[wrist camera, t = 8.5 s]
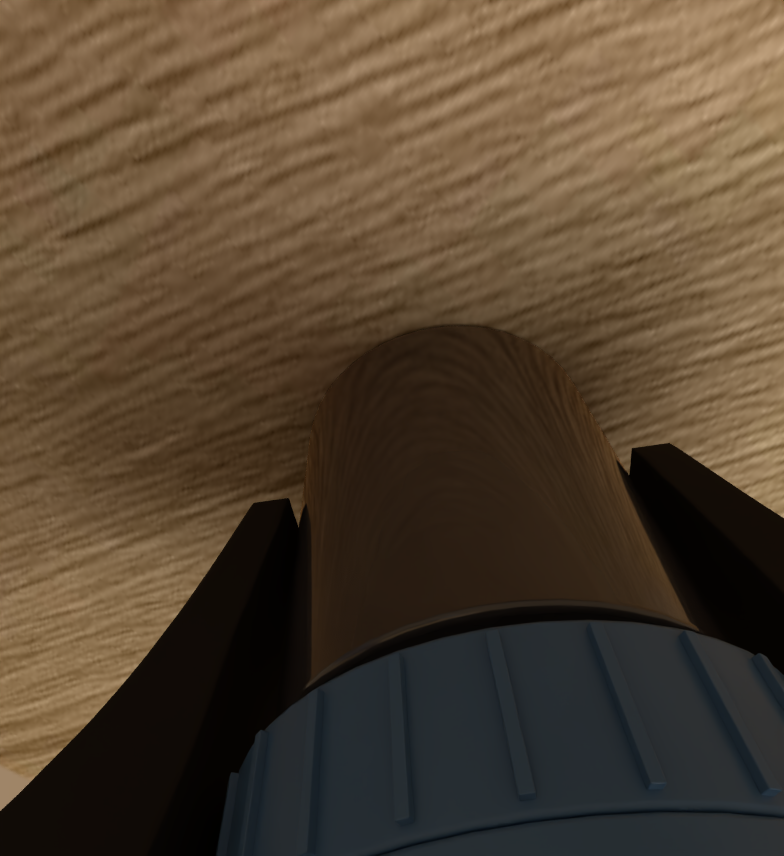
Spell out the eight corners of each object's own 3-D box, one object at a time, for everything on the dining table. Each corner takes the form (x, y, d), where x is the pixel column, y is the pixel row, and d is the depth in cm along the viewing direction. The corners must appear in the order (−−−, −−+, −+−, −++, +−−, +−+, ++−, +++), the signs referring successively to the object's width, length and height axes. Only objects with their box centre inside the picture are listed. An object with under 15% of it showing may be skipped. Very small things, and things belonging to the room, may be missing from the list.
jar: (282, 520, 13) (207, 1005, 6) (353, 286, 10) (339, 744, 3) (514, 567, 14) (642, 1015, 7) (636, 368, 11) (1009, 827, 5)
